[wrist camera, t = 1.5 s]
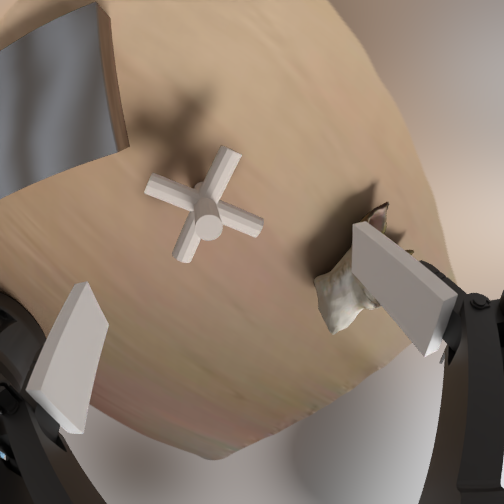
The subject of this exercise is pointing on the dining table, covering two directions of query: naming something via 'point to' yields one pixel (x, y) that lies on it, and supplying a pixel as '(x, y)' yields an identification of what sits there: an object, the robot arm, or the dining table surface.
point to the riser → (59, 99)
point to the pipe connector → (205, 205)
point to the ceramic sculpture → (347, 284)
